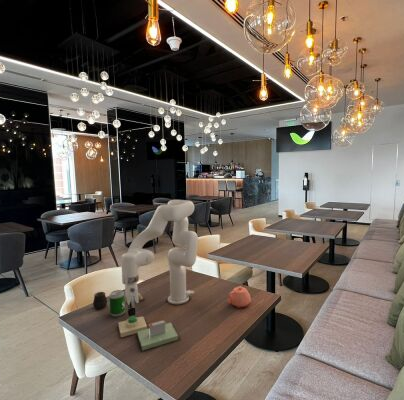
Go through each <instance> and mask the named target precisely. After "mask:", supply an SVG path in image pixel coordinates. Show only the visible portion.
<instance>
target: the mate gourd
mask: <svg viewBox="0 0 404 400" xmlns="http://www.w3.org/2000/svg"><path fill="white" fill-rule="evenodd" d="M92 305H93V308H95V309H96V310H102V309H104V308H105V307H106V306H107V305H108V298H107V296H106V293H105V291H98V292H95V293H94V295H93V302H92Z"/></svg>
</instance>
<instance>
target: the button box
mask: <svg viewBox="0 0 404 400" xmlns="http://www.w3.org/2000/svg"><path fill="white" fill-rule="evenodd" d="M135 317H136V322H134V323H129V321H128V319H129V318H127V319H125V320H122V321H119V322H118V330H119V331H118V332H119V335H120V338H124V337H128V336H131V335H135V334H136V335H137V332H138V331H141V330H145V329H148V324H147V322H146V319H145V317H144V316H139V317H137V316H135Z"/></svg>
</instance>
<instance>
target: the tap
mask: <svg viewBox="0 0 404 400" xmlns="http://www.w3.org/2000/svg"><path fill="white" fill-rule="evenodd" d="M165 324H166V321H165V320H164V319H163V320H159V321H155V322H150V323H148V329H149V335H150V337H151V336H155V335H158V334H162V333H165Z"/></svg>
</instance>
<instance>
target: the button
mask: <svg viewBox="0 0 404 400" xmlns="http://www.w3.org/2000/svg"><path fill="white" fill-rule="evenodd" d="M136 317H137V316H136V315H134V316H128V318H127V319H128V321H129V323H134V322H136Z"/></svg>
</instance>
